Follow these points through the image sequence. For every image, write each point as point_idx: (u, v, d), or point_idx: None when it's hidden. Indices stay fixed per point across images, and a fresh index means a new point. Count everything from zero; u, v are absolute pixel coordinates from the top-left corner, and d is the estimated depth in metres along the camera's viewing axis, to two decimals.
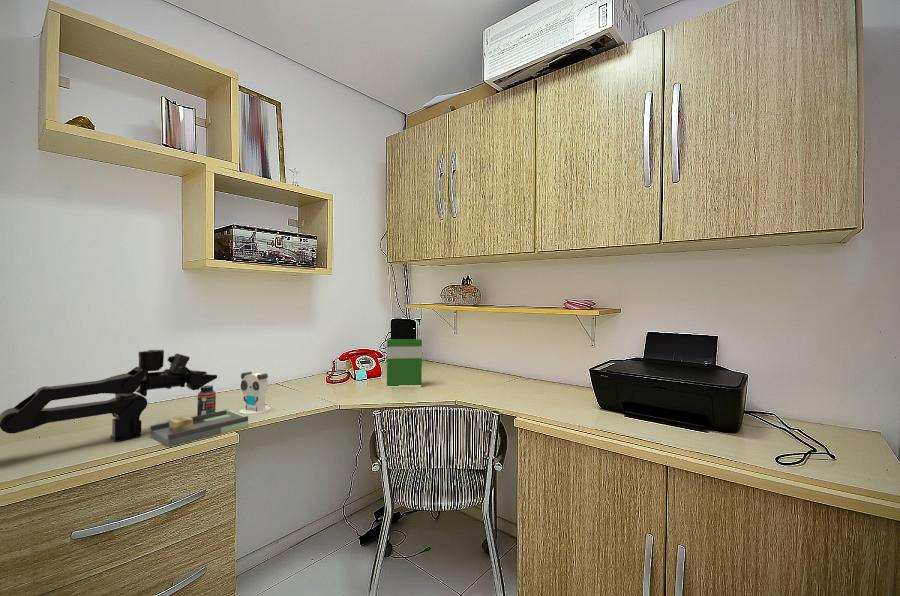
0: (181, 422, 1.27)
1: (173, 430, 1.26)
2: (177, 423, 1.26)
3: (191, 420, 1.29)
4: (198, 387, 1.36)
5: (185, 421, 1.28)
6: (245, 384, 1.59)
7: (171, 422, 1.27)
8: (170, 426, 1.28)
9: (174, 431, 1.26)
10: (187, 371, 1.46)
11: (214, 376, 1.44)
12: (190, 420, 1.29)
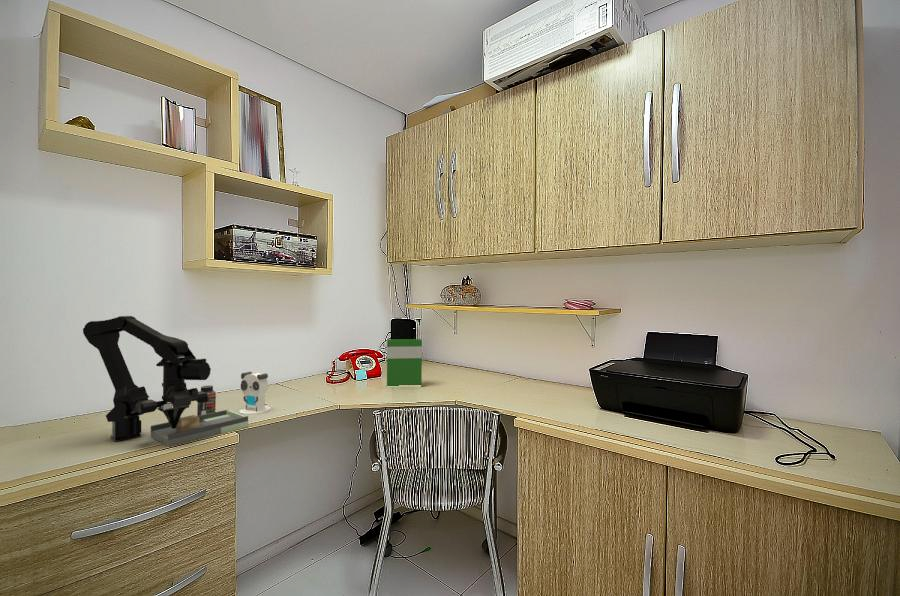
0: (188, 421, 1.28)
1: (180, 429, 1.28)
2: (184, 422, 1.27)
3: (197, 419, 1.31)
4: (135, 409, 1.21)
5: (192, 420, 1.29)
6: (245, 384, 1.59)
7: (178, 421, 1.29)
8: (177, 425, 1.29)
9: (181, 429, 1.27)
10: (177, 409, 1.27)
11: (171, 425, 1.26)
12: (196, 419, 1.30)
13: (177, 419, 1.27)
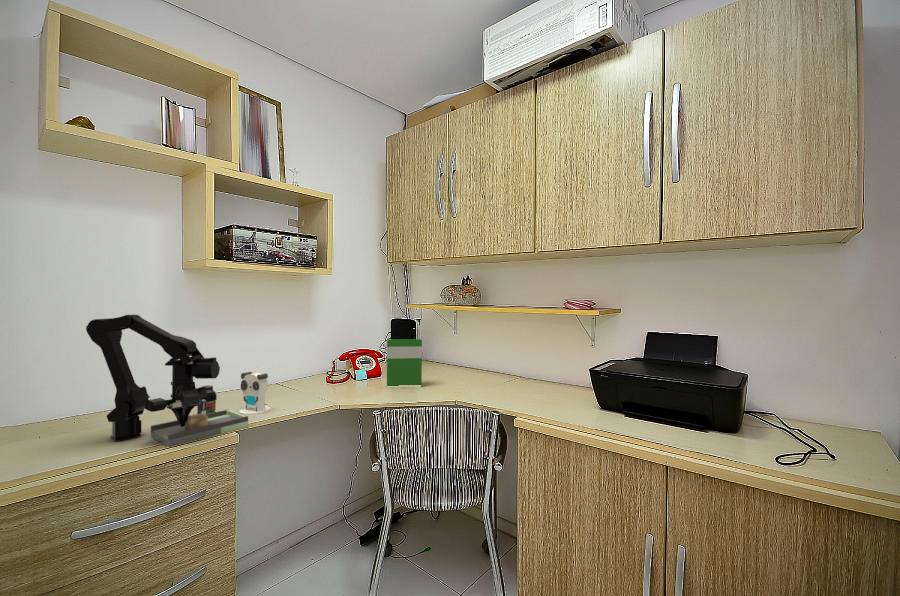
0: (196, 419, 1.30)
1: (189, 427, 1.30)
2: (192, 420, 1.29)
3: (206, 417, 1.33)
4: (145, 407, 1.23)
5: (200, 418, 1.31)
6: (245, 384, 1.59)
7: None
8: None
9: (190, 427, 1.29)
10: (186, 407, 1.29)
11: (180, 423, 1.29)
12: (205, 417, 1.32)
13: (186, 417, 1.29)
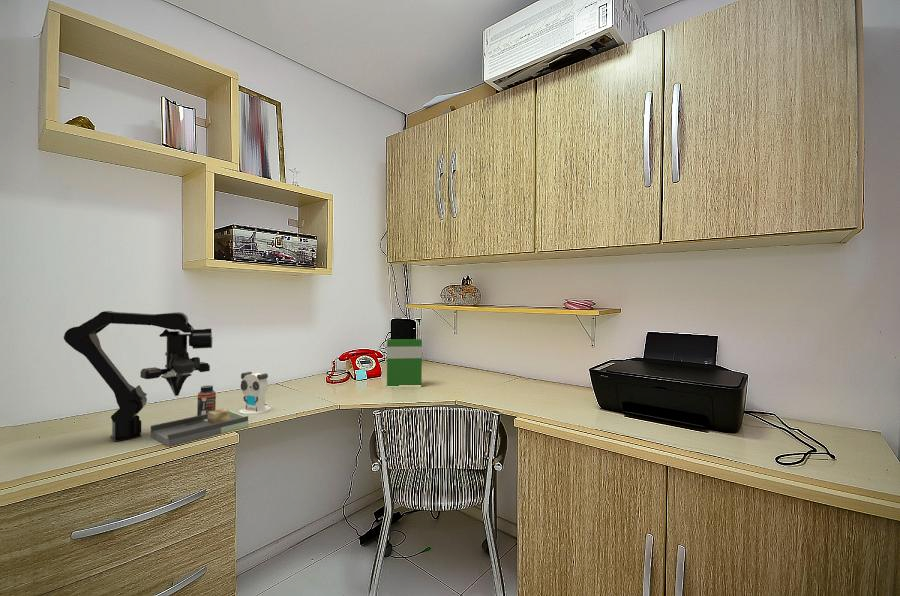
0: (219, 414, 1.36)
1: (212, 421, 1.36)
2: (215, 415, 1.35)
3: (228, 412, 1.38)
4: (140, 376, 1.28)
5: (223, 413, 1.37)
6: (245, 384, 1.59)
7: (210, 414, 1.37)
8: (208, 418, 1.37)
9: (213, 422, 1.35)
10: (180, 377, 1.34)
11: (174, 392, 1.33)
12: (227, 412, 1.38)
13: (180, 387, 1.34)
